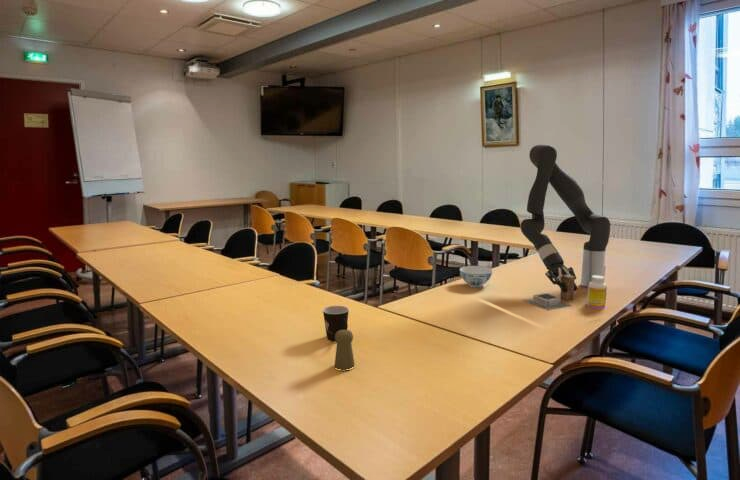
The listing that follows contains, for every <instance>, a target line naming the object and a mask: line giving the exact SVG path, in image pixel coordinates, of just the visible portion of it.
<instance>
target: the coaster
mask: <svg viewBox="0 0 740 480" xmlns="http://www.w3.org/2000/svg"><path fill="white" fill-rule="evenodd" d="M531 299H533V297H532V298H528V299H523V300H522V301H523V302H525V303H528V304H530V305H532V306H536V307H538V308H541V309H543V310H546V311H552V310H558V309H562V308H563V309H564V308H568V307H572V306H573V305H572V304H569V303H567V302H563V301H562V302H563V303H565V305H560V306H554V307H549V308H546V307H543V306H541V305H538V304H535V303H533V302H530V301H529V300H531Z"/></svg>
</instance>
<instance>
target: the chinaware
mask: <svg viewBox="0 0 740 480" xmlns="http://www.w3.org/2000/svg"><path fill="white" fill-rule="evenodd" d="M459 273H460V276H461V278H462V280H463V281H464V282H465V283H466V284H468V287H470V288H475V289H476V288H482V287H483V286H484V285H485V284H486V283H487V282H489V280H490V279H491V277H492V274H493V269H492V268H490V267H486V266H480V265H468V266H467V265H466V266H463V267H460V268H459Z"/></svg>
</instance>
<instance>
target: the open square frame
mask: <svg viewBox="0 0 740 480" xmlns="http://www.w3.org/2000/svg"><path fill="white" fill-rule="evenodd" d="M532 298H533V299H532ZM532 298H530V299H531V300H529V301H530V302H533V303H535V304H538V305H541V306H543V307H546V308H549V307H554V306H560V305H565V303H566V302H564V303H563V301H562V299H561V298H560V296H557V295H554V294H551V293H547V292H546V293H545V292H544V293H540V294H539V293H538V294H535V295H533V297H532Z"/></svg>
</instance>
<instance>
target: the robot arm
mask: <svg viewBox="0 0 740 480" xmlns="http://www.w3.org/2000/svg"><path fill="white" fill-rule="evenodd" d="M528 156H529V160H530V162H531V164H533V166H534V167H536V168H537V171H536V176H535V179H534V181H533V184H532V186H531V189H530V191H529V193H528V199H527V205H526V212H527V213H529V214H531V218H524V219H522V221H521V222H520V227H519V228H520V231H521V233H522V235H523V236H524V237H525V238H526V239H527V240H528V242H530V243H531V244H532V245H533V246H534V248H535V250H536V252H537V254H538V255H539V258H540V260H541V261H542V263H543V265H544V266H545V268H546V269H547V271H546V272H545V273H544V274H545V276H546V277H547V278H548V279H549V280H550V282H551V283H552V284H553V285H557V286H558V287H559V289H560V291H561V290H562V291H563V293H566V292H567V291H568V289H567V287H566V286H565V284H564V283H562V282H563V280H562V275H571V276H575V280H576V279H577V276H576V274H575V271H574V269H573V267H572V266H569V267H567V266H566V265H565V264H564V263H565V262H564V259H563V258H562V256H561V253H560V252H559V251H558V249H557V247H555V246H554V243H553V242H552V241H551V240H550V237H549V236H548V235H547V234H545V233H543V231H544V229H545V224H546V223H545V215H544V207H545V201H546V197H547V191H548V186H549V184H550V186H551V188H553V190H554V191H555V192H556V194H557V195H558V197H559V198H560V199H561V201H562V202H563V203H564V204H565V205H566V207H567V208H568V209H569V211H571V213H572V214H573V215H574V217H575V218H576V220H577V222H578V223H579V226H580V227H581V229H582V230H583V231H584V232H585V233H587V234H589V235H590V236H589V239H588V241H586V242H584V244H583V249H582V250H583V251H582V264H581V277H580V285H581V286H582V287H586V288H588V284H589V283H590V282H592V279H591V278H592V276H593V275H598V276H603V277H605V276H606V265H605V264H606V263H605V261H606V249H607V246H608V245H609V239H610V233H611V222H610V220H609V218H608V217H607V216H605V215H600V214H596V213H594V212H593V211H592V210H591V208H590V207H589V206H588V204H587V203H586V198H585V193H584V191H583V189H582V188H581V187H580V185H579V184H578V182H577V181H576V180H575V179H574V177H572V176H571V175H570V174H569V173H567V172H566V171H565V170H564V169H563V168H561V167H560V166H559V165H558V164H557V163H556V161H557V158H558V157H557V156H558V153H557V149H556V148H555V147H554V146H552V145H550V144H536V145H533V147H532V148H531V149H530V151H529V155H528ZM605 278H606V277H605ZM577 290H578V286H577V284H576V282H575V281H574V292H576V291H577Z"/></svg>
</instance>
